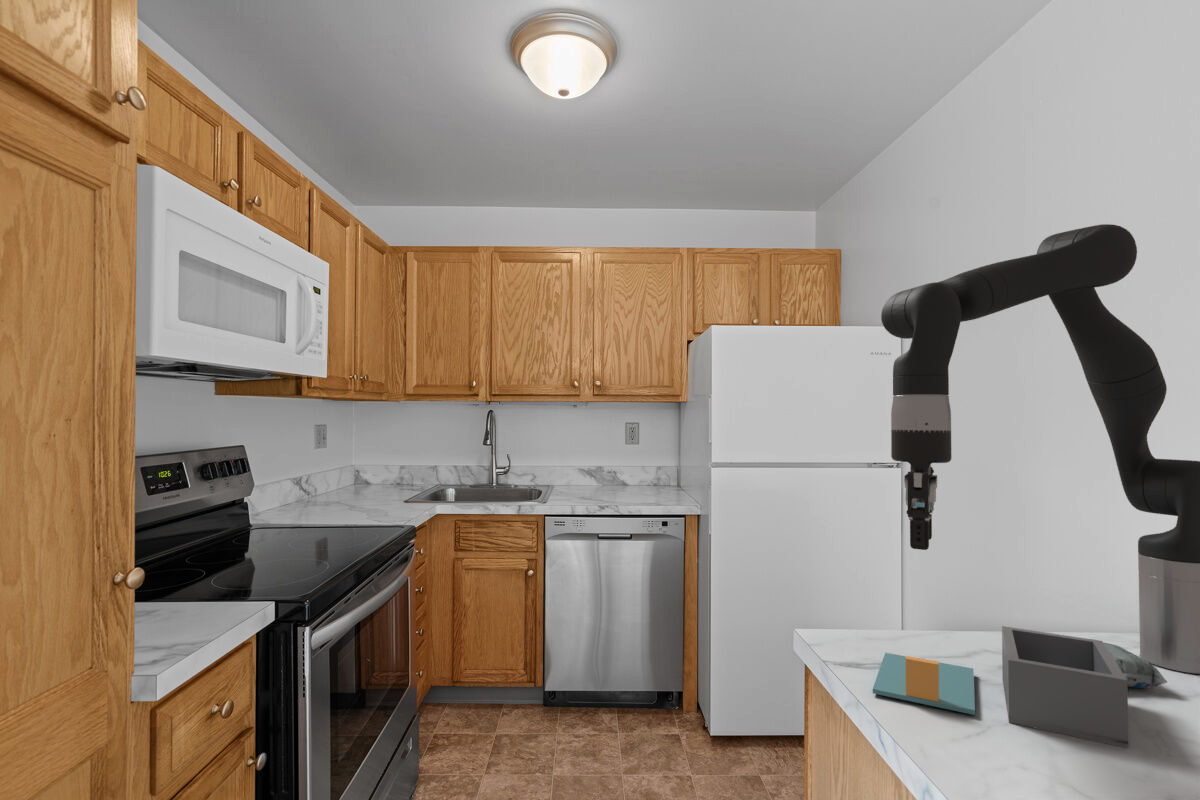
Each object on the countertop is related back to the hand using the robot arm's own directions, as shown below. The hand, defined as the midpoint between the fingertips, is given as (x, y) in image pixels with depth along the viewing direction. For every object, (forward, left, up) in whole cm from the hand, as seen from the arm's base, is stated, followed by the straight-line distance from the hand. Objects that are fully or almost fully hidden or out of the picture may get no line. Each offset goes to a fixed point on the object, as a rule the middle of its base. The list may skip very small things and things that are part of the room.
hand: (921, 543), depth 87 cm
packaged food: (-25, +24, -22) cm, 41 cm away
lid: (-7, 0, -21) cm, 22 cm away
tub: (-7, +16, -22) cm, 28 cm away
